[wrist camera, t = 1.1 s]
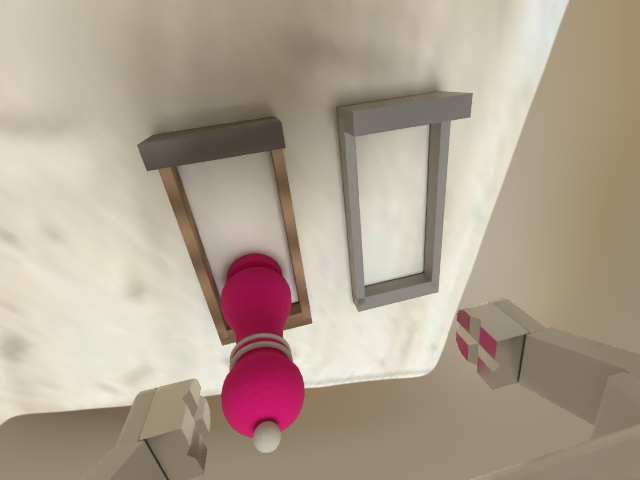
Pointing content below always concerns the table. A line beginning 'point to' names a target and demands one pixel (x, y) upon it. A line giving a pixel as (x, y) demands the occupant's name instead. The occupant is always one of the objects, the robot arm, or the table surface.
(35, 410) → the table surface
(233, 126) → the brown wooden rectangular frame
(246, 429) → the pepper mill
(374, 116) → the grey open rectangular frame
